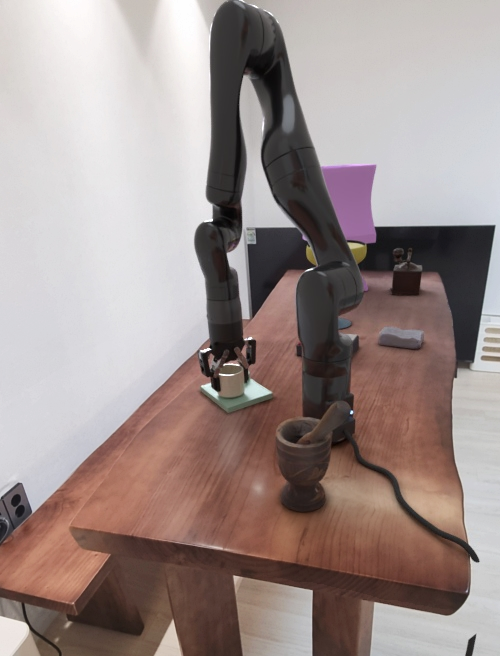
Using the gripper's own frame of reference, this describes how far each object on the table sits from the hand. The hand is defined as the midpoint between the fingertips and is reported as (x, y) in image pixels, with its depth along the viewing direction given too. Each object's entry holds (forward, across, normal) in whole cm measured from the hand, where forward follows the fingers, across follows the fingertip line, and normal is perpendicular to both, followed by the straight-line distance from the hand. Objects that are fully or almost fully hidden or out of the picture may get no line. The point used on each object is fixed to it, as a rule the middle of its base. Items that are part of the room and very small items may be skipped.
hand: (230, 386), depth 108 cm
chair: (+4, +84, +61) cm, 103 cm away
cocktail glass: (+4, +53, +26) cm, 59 cm away
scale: (+3, +2, +1) cm, 4 cm away
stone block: (+3, +57, +1) cm, 57 cm away
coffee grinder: (+4, +96, +35) cm, 102 cm away
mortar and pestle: (+3, -7, -40) cm, 40 cm away
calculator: (+3, +36, +8) cm, 37 cm away
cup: (+1, 0, 0) cm, 1 cm away
